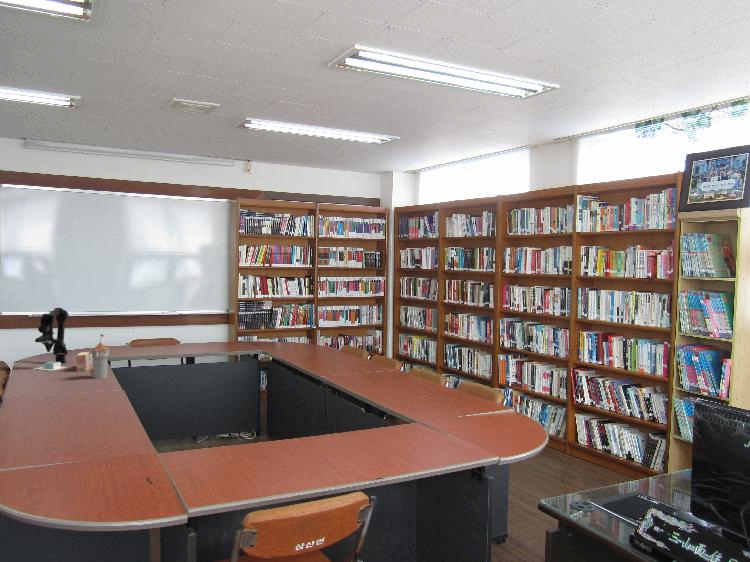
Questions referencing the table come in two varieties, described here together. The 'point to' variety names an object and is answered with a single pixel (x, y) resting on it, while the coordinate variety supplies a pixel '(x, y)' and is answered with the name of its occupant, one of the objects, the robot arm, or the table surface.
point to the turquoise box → (52, 365)
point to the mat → (49, 369)
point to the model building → (100, 360)
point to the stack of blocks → (84, 361)
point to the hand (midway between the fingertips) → (48, 352)
